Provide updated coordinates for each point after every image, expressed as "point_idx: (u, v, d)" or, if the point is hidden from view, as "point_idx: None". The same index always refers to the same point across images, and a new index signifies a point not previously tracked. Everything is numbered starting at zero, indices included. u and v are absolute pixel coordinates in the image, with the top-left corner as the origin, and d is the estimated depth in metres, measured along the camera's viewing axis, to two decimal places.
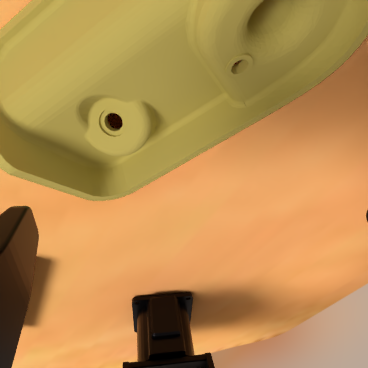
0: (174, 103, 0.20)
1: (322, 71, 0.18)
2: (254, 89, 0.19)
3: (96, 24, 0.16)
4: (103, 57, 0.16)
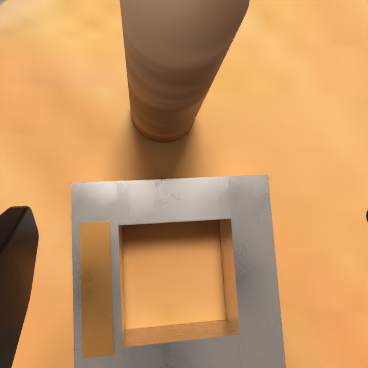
0: None
1: None
2: None
3: None
4: None
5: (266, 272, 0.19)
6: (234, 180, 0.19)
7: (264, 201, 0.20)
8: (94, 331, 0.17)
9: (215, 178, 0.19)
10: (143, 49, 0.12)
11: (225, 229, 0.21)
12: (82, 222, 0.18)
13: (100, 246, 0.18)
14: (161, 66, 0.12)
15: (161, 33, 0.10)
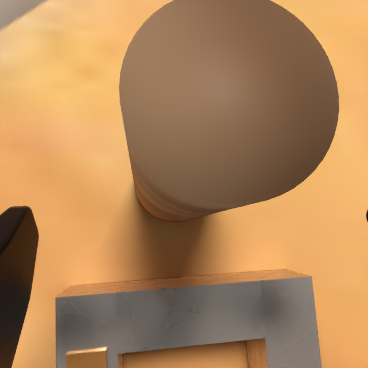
0: None
1: None
2: None
3: None
4: None
5: None
6: (269, 285, 0.15)
7: (308, 312, 0.15)
8: None
9: (244, 284, 0.15)
10: (159, 185, 0.07)
11: (255, 342, 0.16)
12: (70, 354, 0.13)
13: None
14: (188, 204, 0.08)
15: (194, 181, 0.06)
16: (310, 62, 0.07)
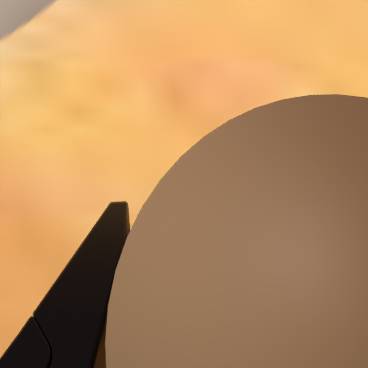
0: None
1: None
2: None
3: None
4: None
5: None
6: None
7: None
8: None
9: None
10: None
11: None
12: None
13: None
14: None
15: None
16: None
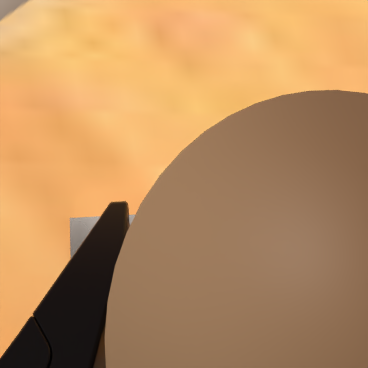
0: None
1: None
2: None
3: None
4: None
5: None
6: None
7: None
8: None
9: None
10: None
11: None
12: None
13: None
14: None
15: None
16: None
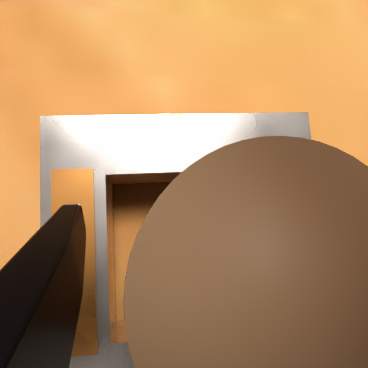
0: None
1: None
2: None
3: None
4: None
5: None
6: (263, 118, 0.14)
7: None
8: None
9: (238, 115, 0.14)
10: None
11: None
12: (55, 169, 0.13)
13: (79, 202, 0.13)
14: None
15: None
16: None
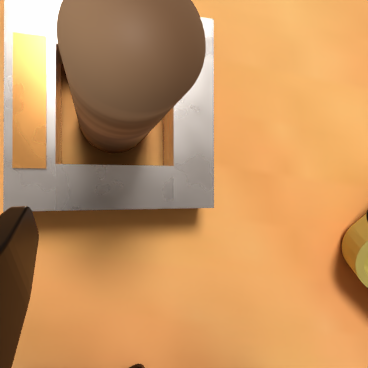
0: None
1: None
2: None
3: None
4: None
5: (203, 112, 0.20)
6: None
7: (207, 44, 0.20)
8: (26, 143, 0.17)
9: None
10: (84, 98, 0.10)
11: None
12: (16, 32, 0.17)
13: (35, 60, 0.17)
14: (105, 116, 0.11)
15: (104, 93, 0.09)
16: (189, 23, 0.10)
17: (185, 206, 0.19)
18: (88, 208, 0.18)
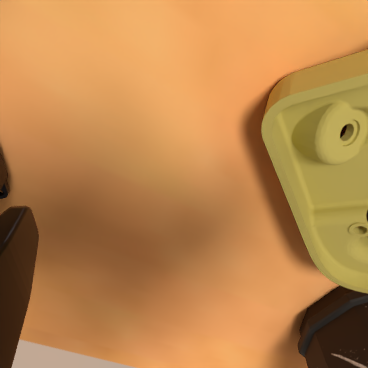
0: (328, 175, 0.24)
1: (328, 270, 0.27)
2: (324, 232, 0.26)
3: None
4: None
5: None
6: None
7: None
8: None
9: None
10: None
11: None
12: None
13: None
14: None
15: None
16: None
17: None
18: None
